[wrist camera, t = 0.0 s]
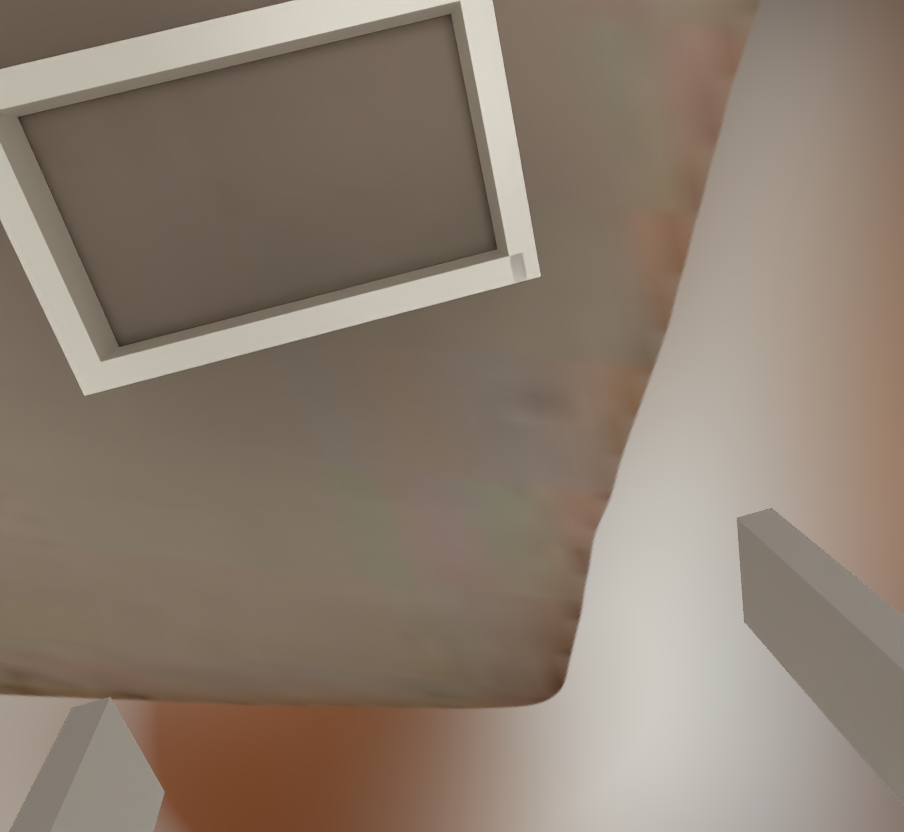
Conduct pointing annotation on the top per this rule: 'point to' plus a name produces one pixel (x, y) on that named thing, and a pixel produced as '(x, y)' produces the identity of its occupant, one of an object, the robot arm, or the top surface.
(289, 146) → the top surface
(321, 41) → the frame
